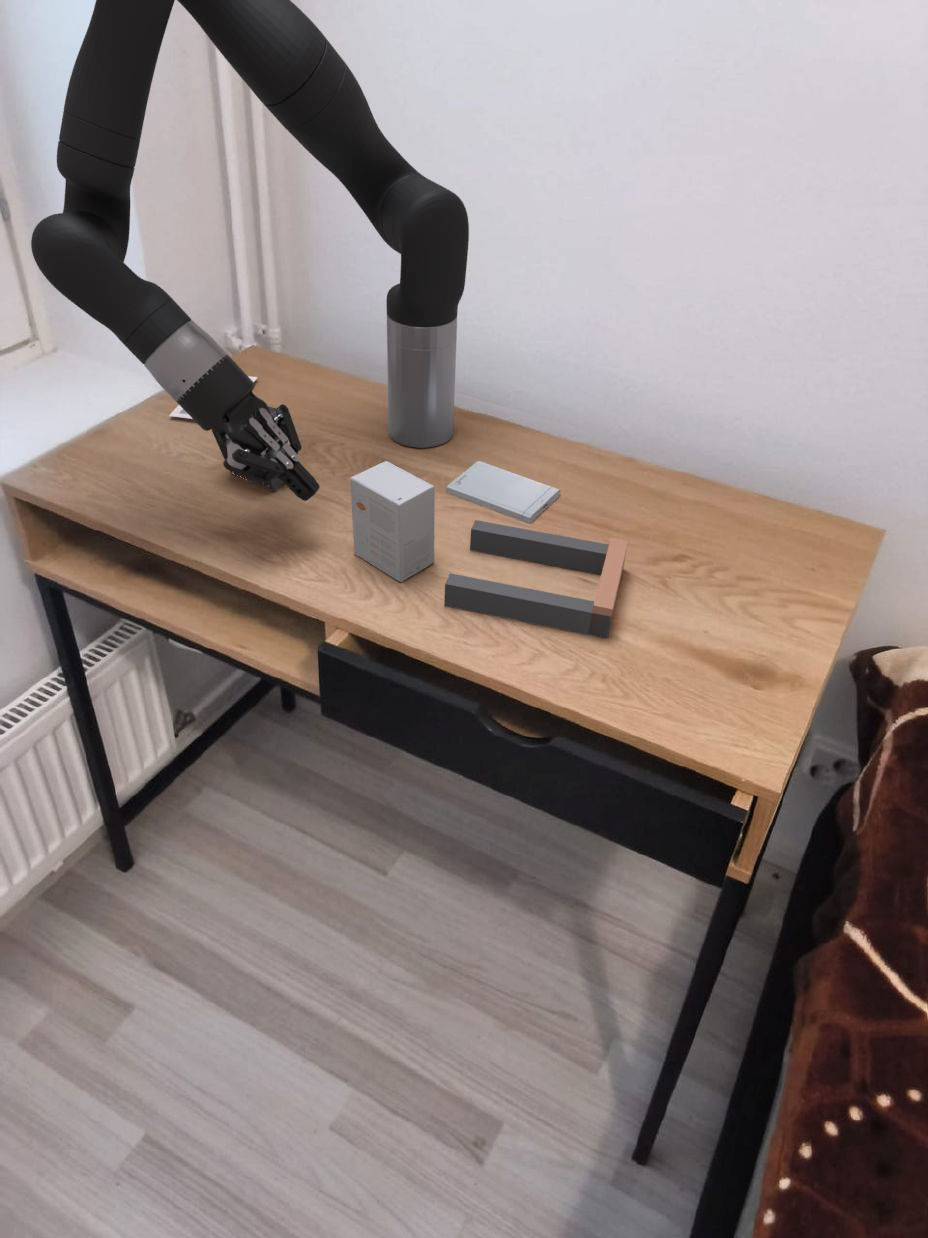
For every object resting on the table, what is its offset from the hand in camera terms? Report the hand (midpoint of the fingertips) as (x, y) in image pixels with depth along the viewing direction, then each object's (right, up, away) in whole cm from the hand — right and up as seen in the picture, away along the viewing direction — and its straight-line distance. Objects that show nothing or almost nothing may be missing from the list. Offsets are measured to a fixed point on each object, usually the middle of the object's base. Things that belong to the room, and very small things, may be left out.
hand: (312, 494), depth 104 cm
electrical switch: (-9, +4, +15) cm, 18 cm away
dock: (+26, -11, 0) cm, 28 cm away
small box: (+9, -7, +3) cm, 12 cm away
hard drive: (+22, +2, +15) cm, 27 cm away
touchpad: (-20, +18, +32) cm, 42 cm away
